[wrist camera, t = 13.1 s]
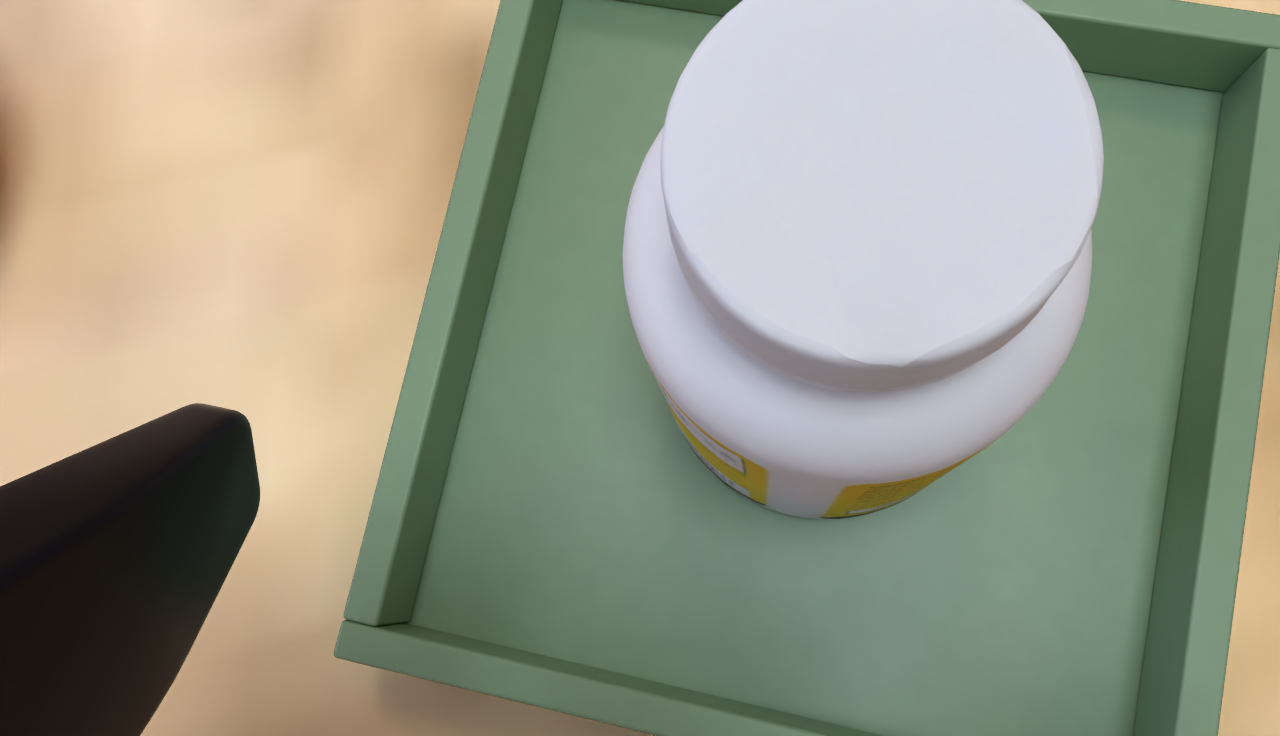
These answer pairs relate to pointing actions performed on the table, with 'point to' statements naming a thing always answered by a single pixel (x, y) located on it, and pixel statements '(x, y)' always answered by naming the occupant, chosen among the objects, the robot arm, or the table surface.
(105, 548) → the robot arm
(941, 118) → the supplement bottle
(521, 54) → the green tray
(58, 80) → the table surface
